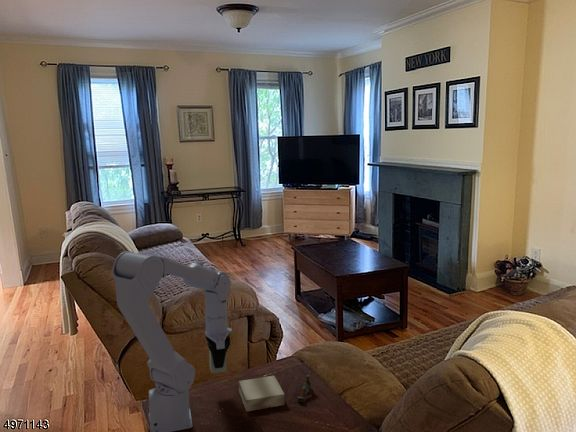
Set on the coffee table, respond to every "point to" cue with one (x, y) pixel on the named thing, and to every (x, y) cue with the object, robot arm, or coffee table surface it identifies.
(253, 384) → the beige flat square block
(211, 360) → the sage block
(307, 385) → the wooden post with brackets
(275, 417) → the coffee table surface
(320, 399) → the coffee table surface
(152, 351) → the robot arm
